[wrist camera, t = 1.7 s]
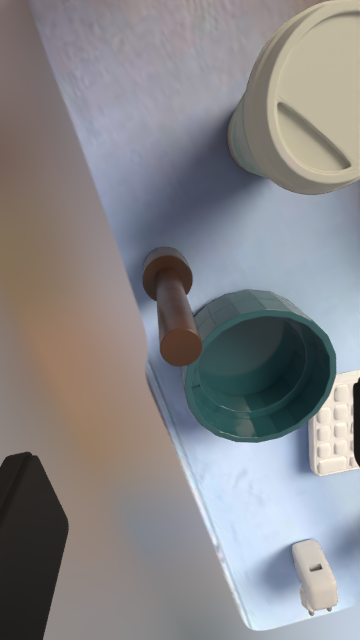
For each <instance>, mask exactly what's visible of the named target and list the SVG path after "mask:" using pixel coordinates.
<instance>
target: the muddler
mask: <svg viewBox="0 0 360 640" xmlns="http://www.w3.org/2000/svg"><path fill="white" fill-rule="evenodd" d="M143 286H144V289H145V291H146V293H147V294H148V295H149V296H150V297H151V298H152V299H153V300H155V301H157V314H158V328H159V342H160V352H161V355H162V357H163V358H164V360H165V361H166V362H168V363H169V364H171V365H174V366H179V367H182V366H187V365H190V364H192V363H194V362H195V361H196V360H197V359H198V358H199V356H200V355H201V353H202V349H203V344H202V340H201V337H200V334H199V331H198V328H197V325H196V322H195V320H194V317H193V314H192V311H191V308H190V305H189V302H188V299H187V296H186V295H187V294H188V292H189V291H190V289H191V286H192V272H191V270H190V268H189V266H188V264H187V262H186V260H185V258H184V256H183V255H182V254H181V253H180V252H179V251H178V250H176V249H174V248H171V247H160V248H157V249H155V250H153V251H152V252H151V253H150V254H149V255H148V256H147V257H146V259H145V262H144V266H143Z"/></svg>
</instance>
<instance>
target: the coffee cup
mask: <svg viewBox="0 0 360 640" xmlns="http://www.w3.org/2000/svg"><path fill="white" fill-rule="evenodd" d="M227 136H228V146H229V150H230V153H231V155H232V157H233V159H234V160H235V162H236V163H237V164H238V165H239V166H240V167H241V168H243V169H244V170H246V171H248V172H250V173H253V174H256V175H259V176H262V177H265V178H269V179H271V180H272V181H273V182H274V183H276V184H277V185H279V186H280V187H282V188H284V189H286V190H289V191H291V192H294V193H299V194H305V195H317V194H324V193H329V192H332V191H335V190H338V189H341V188H344V187H346V186H348V185H350V184H352V183H354V182H356V181H357V180H359V179H360V0H332V1H327V2H323V3H320V4H317V5H314V6H312V7H310V8H308V9H306V10H304V11H303V12H301V13H299V14H297V15H296V16H294V17H293V18H291V19H290V20H288V21H287V22H286V23H285V24H283V25H282V26H281V27H280V28H279V29H278V30H277V31H276V32H275V33H274V34H273V35H272V37H271V38H270V39H269V40H268V42H267V43H266V44H265V46H264V47H263V49H262V51H261V52H260V54H259V56H258V58H257V60H256V62H255V64H254V66H253V69H252V71H251V74H250V77H249V80H248V84H247V88H246V91H245V93H244V94H243V96H242V98H241V100H240V102H239V104H238V106H237V107H236V109H235V111H234V113H233V115H232V117H231V120H230V123H229V127H228V135H227Z"/></svg>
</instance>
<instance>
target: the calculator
mask: <svg viewBox="0 0 360 640" xmlns="http://www.w3.org/2000/svg"><path fill="white" fill-rule="evenodd" d="M359 377H360V370H355V371H350V372H345V373H339V374H336V378H335V381H334V384H333V387H332V390H331V393H330V395H329V397H328V399H327V400H326V402H325V403H324V404H323V406H322V407H321V409H320V410H319V412H318V413H317V414H316V415H315V416H313V417H312V418H311V419H310V420H309V421H308V436H309V463H310V467H311V470H312V471H313V473H314V474H315V475H318V476H324V475H330V474H335V473H340V472H345V471H350V470H355V469H359V468H360V467H359V466H358V464H357V462H356V460H355V457H354V442H353V385H354V383H357V382H358V378H359Z"/></svg>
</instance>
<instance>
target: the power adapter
mask: <svg viewBox="0 0 360 640" xmlns="http://www.w3.org/2000/svg"><path fill="white" fill-rule="evenodd" d="M292 553H293V559H294V565H295V570H296V572H297V575H298V578H299V581H300V583H301V588H300V597H301V603H302V605H303V606H304V607H305V608H306V609H307V610H308V611H309V614H310V615H311V616H313V615H314V611H316V610H322V609H327V610H328V611H331V610H332V608H331V607H333V606H335V605H337V603H338V592H337V584H336V580H335V577H334V575H333V572H332V570H331V568H330V566H329V564H328V562H327V560H326V557H325V555H324V553H323V551H322V549H321V547H320V545H319V544H318V542H317V541H316V540H314V539H310V540H306V541H302V542H298V543H295V544H294V545H293V546H292Z"/></svg>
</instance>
